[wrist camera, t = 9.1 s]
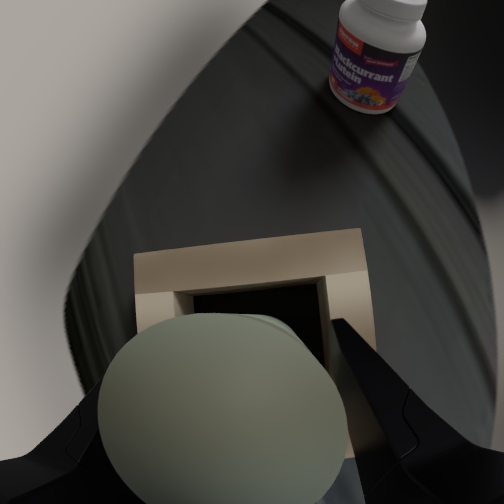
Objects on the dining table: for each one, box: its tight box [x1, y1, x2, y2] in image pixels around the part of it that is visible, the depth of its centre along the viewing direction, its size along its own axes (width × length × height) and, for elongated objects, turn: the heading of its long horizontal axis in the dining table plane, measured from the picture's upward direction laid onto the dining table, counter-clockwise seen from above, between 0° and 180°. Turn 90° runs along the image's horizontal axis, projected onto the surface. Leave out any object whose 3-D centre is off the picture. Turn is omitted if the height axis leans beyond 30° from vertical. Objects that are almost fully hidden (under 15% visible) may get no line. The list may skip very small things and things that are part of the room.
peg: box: [98, 313, 348, 504], centre depth 10 cm, size 4×4×12 cm
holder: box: [134, 228, 376, 459], centre depth 15 cm, size 11×11×4 cm
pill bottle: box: [329, 0, 427, 114], centre depth 15 cm, size 5×5×10 cm
